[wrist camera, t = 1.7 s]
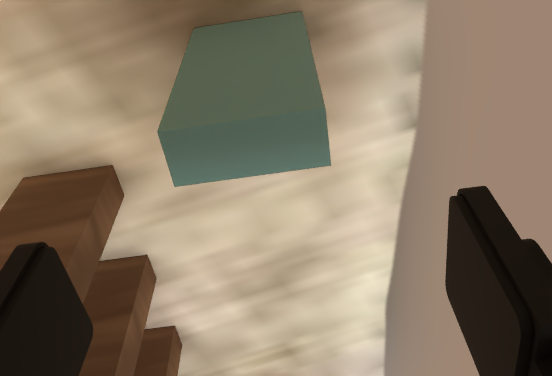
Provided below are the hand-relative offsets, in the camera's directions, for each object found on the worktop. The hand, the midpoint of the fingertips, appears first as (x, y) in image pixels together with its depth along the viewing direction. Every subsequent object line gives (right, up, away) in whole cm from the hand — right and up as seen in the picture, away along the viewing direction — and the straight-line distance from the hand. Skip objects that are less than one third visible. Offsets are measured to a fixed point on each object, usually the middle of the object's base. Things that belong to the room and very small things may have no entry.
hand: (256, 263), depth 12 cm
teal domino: (-1, +9, +12) cm, 15 cm away
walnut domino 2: (-10, -3, +20) cm, 22 cm away
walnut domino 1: (-11, +2, +16) cm, 19 cm away
